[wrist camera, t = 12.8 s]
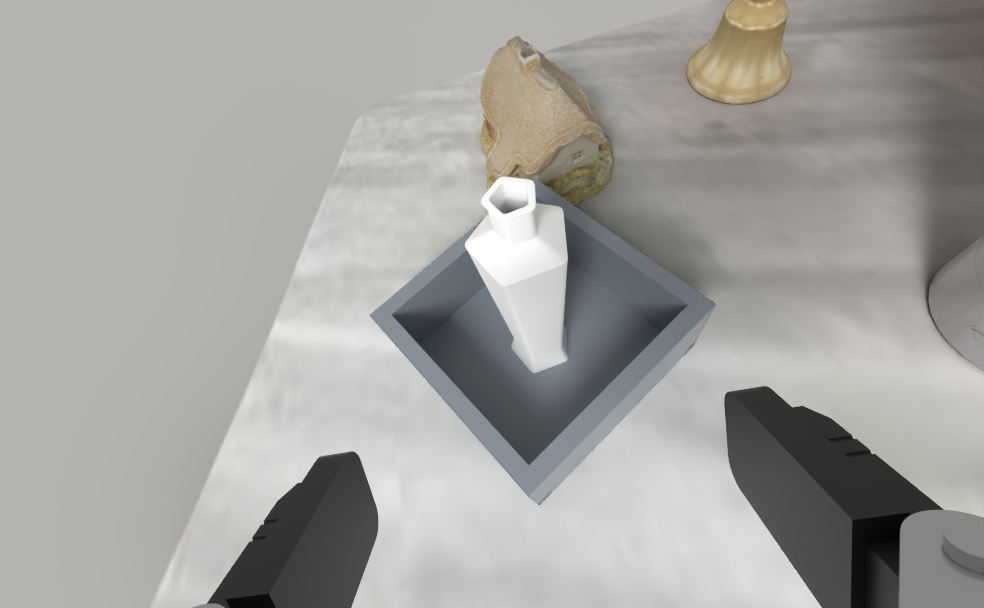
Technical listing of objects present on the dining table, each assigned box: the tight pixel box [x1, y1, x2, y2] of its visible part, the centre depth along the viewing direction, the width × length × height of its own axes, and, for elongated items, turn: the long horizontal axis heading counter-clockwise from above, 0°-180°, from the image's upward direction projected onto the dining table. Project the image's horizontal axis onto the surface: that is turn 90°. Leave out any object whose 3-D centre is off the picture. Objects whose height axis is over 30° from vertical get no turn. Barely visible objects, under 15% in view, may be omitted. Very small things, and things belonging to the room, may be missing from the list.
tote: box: [370, 178, 716, 505], centre depth 29 cm, size 14×14×6 cm
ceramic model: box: [480, 36, 614, 206], centre depth 35 cm, size 14×11×10 cm
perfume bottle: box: [465, 177, 568, 373], centre depth 24 cm, size 5×4×15 cm
